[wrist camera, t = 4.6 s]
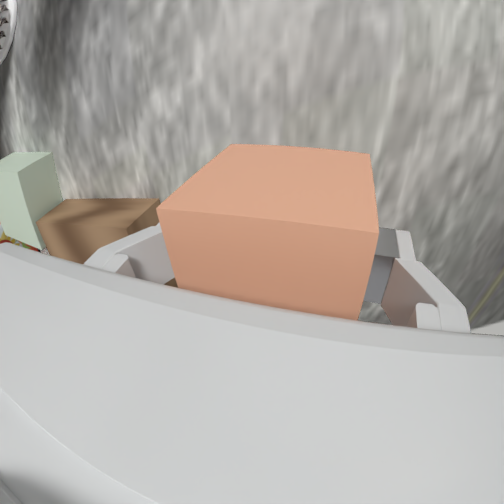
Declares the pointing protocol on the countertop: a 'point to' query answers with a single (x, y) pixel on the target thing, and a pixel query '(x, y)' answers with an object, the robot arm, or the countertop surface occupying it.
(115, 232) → the walnut block
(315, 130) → the countertop surface
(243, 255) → the terracotta cube
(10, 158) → the sage block
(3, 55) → the decorative candle
